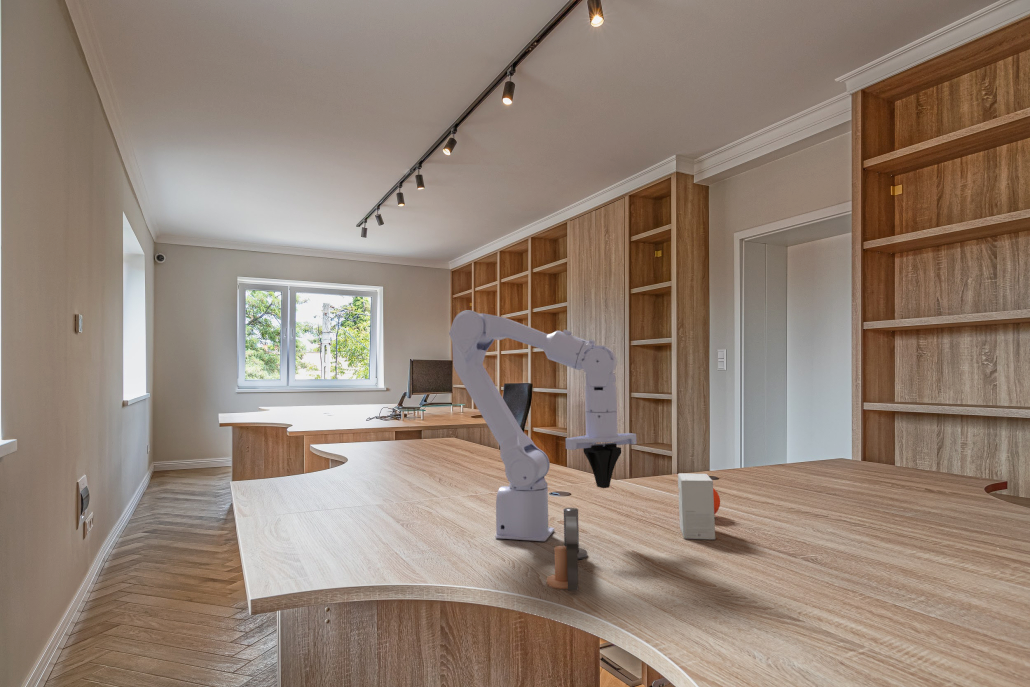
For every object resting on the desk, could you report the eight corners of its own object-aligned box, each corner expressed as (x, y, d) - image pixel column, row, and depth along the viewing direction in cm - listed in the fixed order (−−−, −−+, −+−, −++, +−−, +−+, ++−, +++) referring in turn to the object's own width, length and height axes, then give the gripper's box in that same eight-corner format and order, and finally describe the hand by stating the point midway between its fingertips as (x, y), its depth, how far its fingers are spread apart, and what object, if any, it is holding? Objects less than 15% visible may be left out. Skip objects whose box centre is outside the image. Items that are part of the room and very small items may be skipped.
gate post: (553, 558, 93) (552, 512, 93) (560, 549, 98) (559, 505, 98) (584, 561, 91) (583, 513, 92) (589, 551, 96) (588, 506, 97)
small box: (715, 540, 102) (713, 480, 102) (683, 539, 103) (681, 480, 103) (709, 528, 109) (707, 473, 110) (679, 527, 111) (677, 472, 111)
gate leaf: (566, 555, 93) (566, 516, 93) (576, 555, 92) (576, 516, 93) (567, 590, 78) (566, 544, 78) (579, 590, 77) (578, 544, 78)
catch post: (543, 587, 80) (543, 551, 81) (550, 576, 85) (550, 542, 85) (574, 590, 79) (573, 553, 79) (580, 579, 83) (579, 544, 84)
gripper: (581, 414, 97) (582, 495, 97) (646, 410, 104) (648, 486, 103) (558, 412, 103) (560, 488, 103) (621, 409, 110) (623, 480, 110)
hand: (603, 487), depth 103 cm, fingers closed
